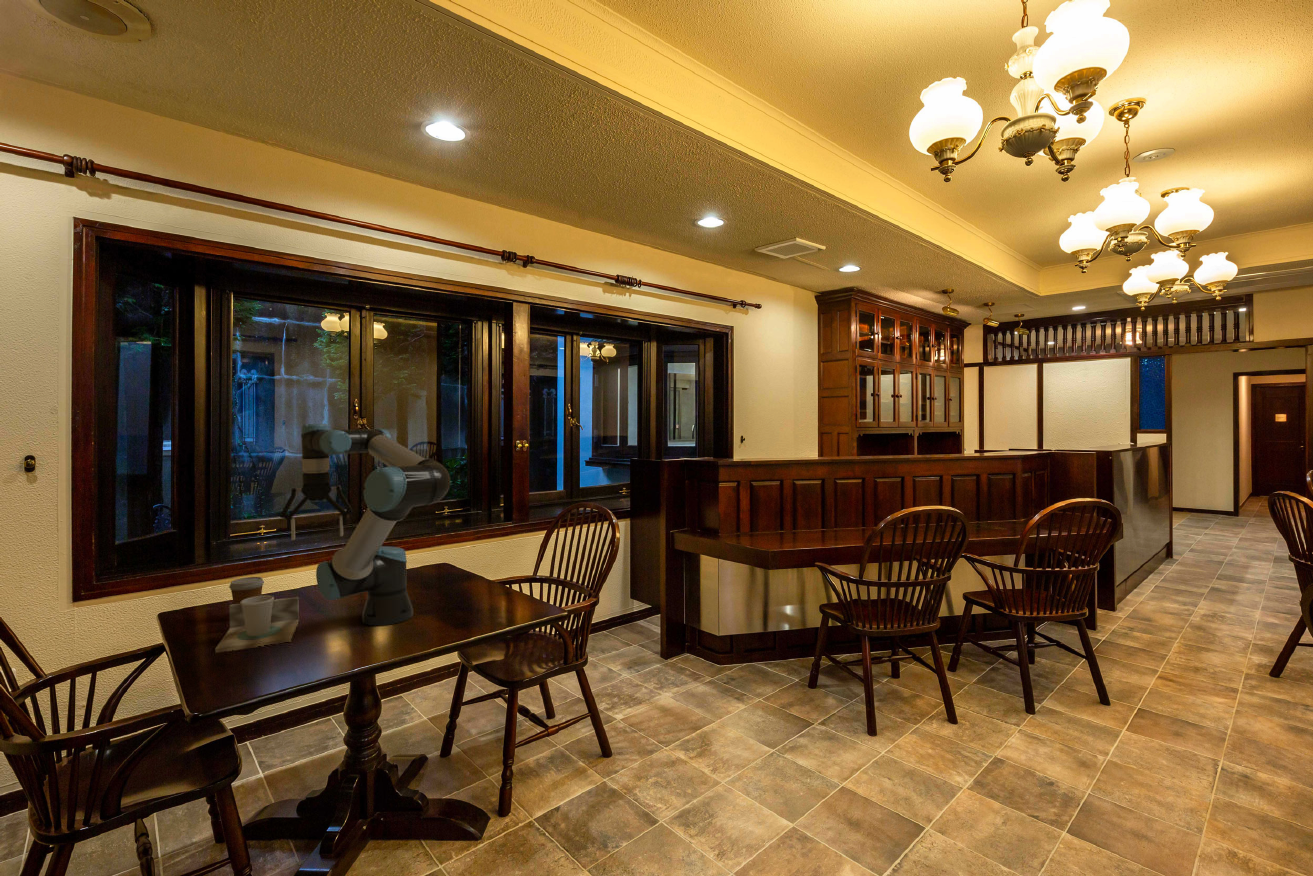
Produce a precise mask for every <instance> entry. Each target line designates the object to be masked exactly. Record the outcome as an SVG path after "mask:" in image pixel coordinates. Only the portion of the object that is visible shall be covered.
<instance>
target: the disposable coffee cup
mask: <svg viewBox="0 0 1313 876" xmlns="http://www.w3.org/2000/svg"><path fill="white" fill-rule="evenodd" d="M264 583H265V581H264V579H263V577H261V576H249V577H242V578H236V579H234V580H232V581H231V582H230V584H229V589H230V593H231V597H232V601H233V604H240V602H241V601H242V600H244V599H247V598H250V597H255V596H262V593H263V592H262V591H263V585H264Z"/></svg>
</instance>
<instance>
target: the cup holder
mask: <svg viewBox="0 0 1313 876" xmlns="http://www.w3.org/2000/svg"><path fill="white" fill-rule="evenodd" d="M298 622H299V623H300V613H299V596H295V597H285V598H277V599H273V605H272V614H271V623H270V631H269V632H268V633H266V634H263V635H258V636H248V635H247V632H246V627H245V621H244V615H243V610H242V604H241V603H240V604H234V603H233V604H230V605H229V629H228V630H227V631H226V633H225V634H224V636H223V638H222V639H221V640H220V642H219V643H218V644H217V646H216V647H215V651H214V652H215V654H218V653H225V651H226V652H232V650H233V651H239V650H247V649H254V648H259V647H258V646H261V647H265V646H264V645H269V646H271V645H270V644H276V645H278V644H277V643H283V642H290V643H291V642H292V640H293V638H292V637H294V635H293V634H295V633H296V630H297V628H298V625H299V623H298ZM296 627H297V628H296ZM294 632H295V633H294ZM291 639H292V640H291ZM283 644H284V643H283Z"/></svg>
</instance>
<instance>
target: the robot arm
mask: <svg viewBox="0 0 1313 876" xmlns="http://www.w3.org/2000/svg"><path fill="white" fill-rule="evenodd" d="M300 437H301V454H302V455H301V456H302V458H301V462H302V464H301V465H302V472H303V473H302V487H301V488H300V487H292V488H291V490H290V491H291V492H290V496H289V498H288V500H287V502H286V504H285V505H284V507H283V509H282V511H281V512H280V515H279V517H280V518H281V519H285V520H286V529H287V530H290V531H291V532H290V533H291V534H290V536H291V537H290V538H291V539H290V540H291V541H295V540H296V518H295V517H294V516H295V515H296V514H297V512H298V511H299V510H300V509H301V508H302V507H303V506H304V505H305V503H307V501H310V502H315V501H319V502H321V501H324V500H326V502H328V503H329V504H330V505H331V506H332V507H333V508H334V509H335V510H336V511H337V512H338V513H340V515H339V537H343V536H344V526H347V523H348V521H347V519H348V517H347V516H348V515H349V514H352V513H353V508H352V507H351V505H350V503H349V502H348V500H347V499H346V497H345V495H344V494H343V492H342V487H341V485H340V484H339V485H338V484H337V486H336V485H335V486H331V480H330V478H331V477H330V472H329V470H330V456H339V455H340V456H341V455H343V454H345V455H346V454H363V453H365V454H366V453H367V454H369V455H370V456H372V457H373V458H375V459H377V460H378V461H380V462H382V463H384V465H386V467H379V468H376V469H375V470H373V471H371V473H369V475H368V476H367V478H366V480H365V482H364V486H363V487H364V488H365V489H364V490H363V498H364V502H365V504H366V506H367V508H366V510H365V512H364V513H363V516H362V517H361V519H360V521H359V522H358V524H357V526H356V527H355V529H354V531H353V532H352V534H351V535H350V537H349V539H348V540H347V543H346V544H345V546H344V547H343V548H340V549H338V550H337V551H336V552H334V554H333V556H332V558H331V559H330V560H329V561H326V560H325V561H322V562H320V563H319V564H318V565H317V567H316V571H315V578H316V584H317V587H318V590H319V593H320V594H321V596H323V599H325V600H327V601H333V600H340V599H343V598H347V597H351V596H355V595H358V594H362V593H367V597H366V601H365V604H364V608H363V611H362V615H361V620H362V621H361V622H362V624H364V623H365V625H367V624H368V626H387V625H395V624H398V623H402V622H405V621H407V620H409V619H411V618H412V617H413V615H414V608H413V605H412V602H411V600H410V598H409V595H408V591H407V590H408V589H407V587H408V586H407V585H408V584H407V580H408V579H407V562H408V561H407V554H406V551H405V549H403V548H401V547H398V546H388V545H387V546H384V545H383V544H384V542H385V540H386V539H387V537H388V536H389V534H390V533H391V532H392V529H394V528H393V527H394V526H395V524H396V523H397V522H399V521H402V520H404V519H405V518H406V517H407V516H408V515H409V513H410V512H411V510H412V508H414V507H415V508H416V507H420V506H421V507H423V506H428V505H433V504H436V503H438V502H439V501H441V500H442V499H443V498H444V497H445V496H446V495H447V493H448V492H449V489H450V486H451V477H450V474H449V470H447V468H446V467H445V466H444V465H443V464H441V462H438V461H437V460H434V459H433V458H424V456H421V455H419V454H418V453H416V452H414V451H412V450H411V449H409V448H407V447H405V446H404V445H402V444H400V443H398V442H396V441H395V440H393V439H392V435H391V434H390V432H389V430H387V429H383V428H369V429H368V428H367V429H366V428H364V429H329V426H328V424H326V423H304V424H302V425H301V434H300ZM332 491H333V492H334V493H335V494H336V495H337V496H338V498H339V499H340V501H341V503H342V504H343V506H344V507H345V509H346V510H345V509H344V508H343V507H342V506H341V505H340V504H338V503H337V502H336V500H334V498H332V496H330V494H331V492H332ZM300 493H301V494H302V495H303V496H304V497H303V498H302V500H301V501H300V502H299V503H298V504H297V505H296V506H295V507H294V508H293V509H292V510H291V511H290V513H289V514H288V511H289V509H290V508H291V506H292V504H293V502H294V500H295V498H296V496H298V495H299V494H300ZM293 517H294V518H293Z"/></svg>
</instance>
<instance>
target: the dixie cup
mask: <svg viewBox="0 0 1313 876" xmlns="http://www.w3.org/2000/svg"><path fill="white" fill-rule="evenodd" d="M273 600H275V597H274V596H273V595H261V596H255V597H250V598H247V599H244V600H242V601H241V602H240V603H241V604H242V610H243V615H244V621H245V627H246V632H247V635H248V636H258V635H263V634H266V633H268V632H269V631H270V623H271V614H272V605H273Z"/></svg>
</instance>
